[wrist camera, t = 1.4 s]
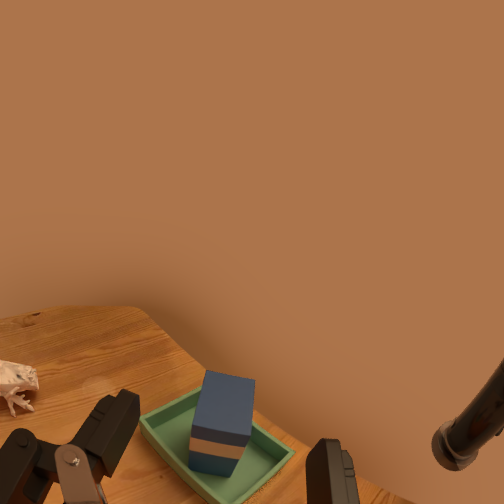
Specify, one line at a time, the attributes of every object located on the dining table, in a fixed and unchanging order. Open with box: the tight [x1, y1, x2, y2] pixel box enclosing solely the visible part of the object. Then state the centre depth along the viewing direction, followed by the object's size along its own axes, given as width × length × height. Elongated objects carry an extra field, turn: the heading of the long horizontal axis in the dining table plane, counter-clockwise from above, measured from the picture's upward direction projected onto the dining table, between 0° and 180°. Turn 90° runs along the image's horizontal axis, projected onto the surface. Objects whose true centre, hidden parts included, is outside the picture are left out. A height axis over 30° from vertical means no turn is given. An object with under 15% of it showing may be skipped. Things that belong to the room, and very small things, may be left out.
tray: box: [139, 385, 295, 504], centre depth 26 cm, size 15×11×4 cm
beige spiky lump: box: [0, 360, 39, 418], centre depth 21 cm, size 12×7×12 cm
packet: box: [188, 370, 255, 478], centre depth 24 cm, size 5×7×12 cm
